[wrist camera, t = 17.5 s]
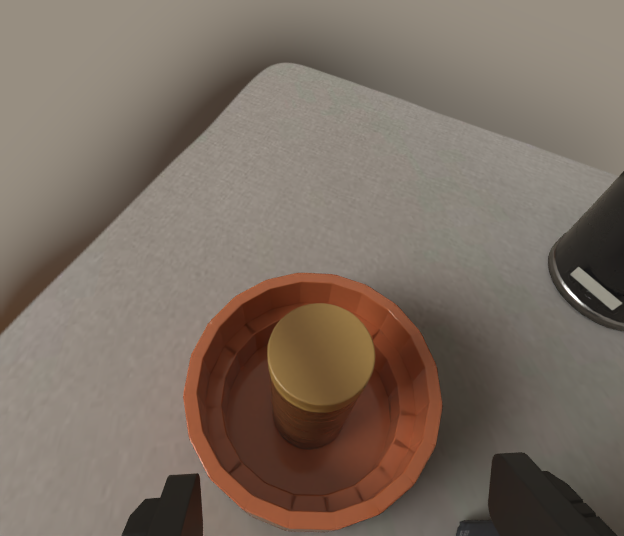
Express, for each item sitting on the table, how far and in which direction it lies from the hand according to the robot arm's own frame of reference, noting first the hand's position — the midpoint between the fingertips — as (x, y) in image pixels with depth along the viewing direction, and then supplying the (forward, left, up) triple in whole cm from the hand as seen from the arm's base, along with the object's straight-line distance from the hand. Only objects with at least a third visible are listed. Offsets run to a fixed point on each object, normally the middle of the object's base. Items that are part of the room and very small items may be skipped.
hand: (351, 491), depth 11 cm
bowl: (-3, -5, -15) cm, 16 cm away
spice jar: (-3, -5, -14) cm, 16 cm away
